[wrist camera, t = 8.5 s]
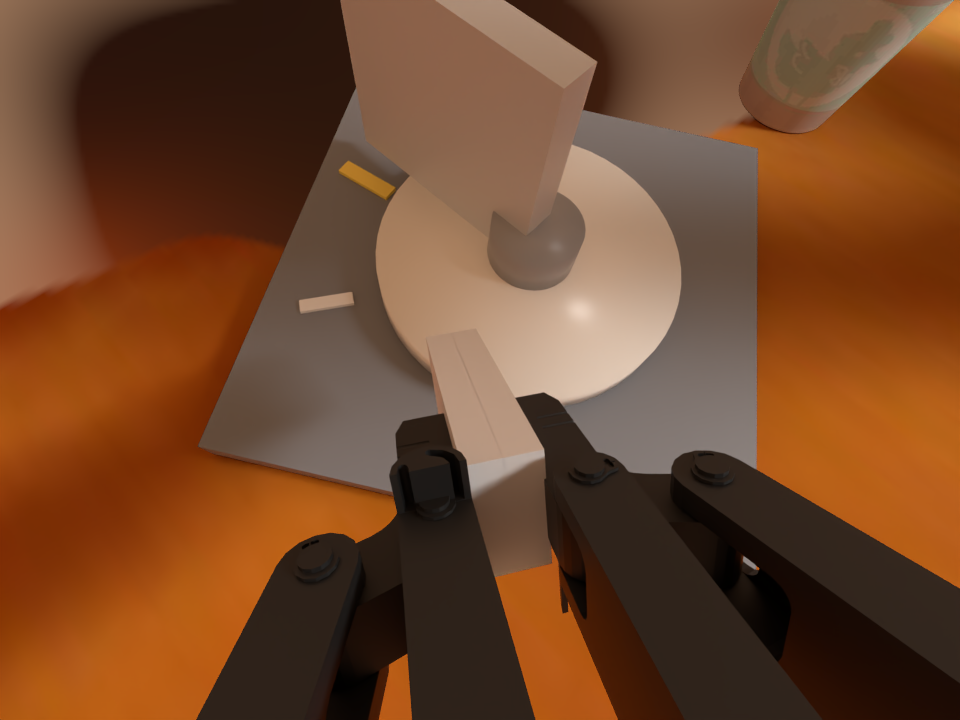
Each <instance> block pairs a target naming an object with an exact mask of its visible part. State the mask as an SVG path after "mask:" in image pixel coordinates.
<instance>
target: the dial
mask: <svg viewBox="0 0 960 720" xmlns="http://www.w3.org/2000/svg"><path fill="white" fill-rule="evenodd" d="M340 1H341V6H342V12H343V17H344V23H345V28H346V34H347V39H348V44H349V50H350V55H351V60H352V66H353V72H354V77H355V83H356V88H357V94H358V99H359V105H360V110H361V116H362V121H363V127H364V132H365V138H366V141H367V142H368V143H370V144H371V145H372V146H373V147H375V148H376V149H377V150H378V151H380V152H381V153H382V154H383V155H385V156H386V157H387V158H388V159H390V160H391V161H392V162H393V163H395V164H396V165H397V166H398V167H400V168H401V169H402V170H403V171H405V172H406V173H407V174H408V175H410V176H409V177H408V178H407V180H406V181H405V182H404V183H403V184H402V185H401V187H400V188H399V189H398V190H397V192H396V193H395V195H394V196H393V198H392V200H391V201H390V203H389V204H388V207H387V209H386V211H385V213H384V216H383V218H382V221H381V224H380V228H379V232H378V235H377V244H376V271H377V276H378V281H379V286H380V290H381V295H382V299H383V303H384V307H385V309H386V312H387V315H388V318H389V320H390V323H391V324H392V326H393V328H394V330H395V332H396V334H397V336H398V337H399V339H400V340H401V342H402V343H403V344H404V346H405V347H406V348H407V350H408V351H409V352H410V354H411V355H412V356H413V357H414V358H415V359H416V360H417V361H418V362H419V363H420V364H421V365H422V366H423V367H424V368H425V369H427V370H428V371H429V372H430V373H432V372H431V366H430V360H429V354H428V348H427V342H426V337H429V336H435V335H441V334H446V333H452V332H458V331H464V330H470V329H475V328H476V330H477V331H478V333H479V335H480V337H481V339H482V340H483V342H484V344H485V346H486V347H487V349H488V351H489V353H490V354H491V356H492V358H493V360H494V362H495V363H496V365H497V367H498V369H499V370H500V372H501V374H502V376H503V377H504V379H505V381H506V383H507V384H508V386H509V388H510V390H511V392H512V393H513V395H514V397H515V398H516V397H522V396H527V395H532V394H537V393H542V392H544V393H546V394H548V395H550V396H552V397H554V398H556V399H557V400H559V401H560V403H561V404H562V405H563V406H567V405H572V404H576V403H580V402H583V401H586V400H588V399H591V398H593V397H596V396H599V395H600V394H602V393H604V392H606V391H608V390H610V389H611V388H613V387H615V386H616V385H618V384H619V383H620V382H622V381H623V380H624V379H626V378H627V377H628V376H630V375H631V374H632V373H633V372H634V371H635V370H636V369H637V368H638V367H639V366H640V365H641V364H642V363H643V362H644V361H645V360H646V359H647V358H648V357H649V355H650V354H651V353H652V352H653V351H654V350H655V349H656V348H657V346H658V345H659V344H660V342H661V341H662V339H663V338H664V337H665V335H666V333H667V331H668V329H669V327H670V325H671V323H672V321H673V319H674V316H675V313H676V310H677V307H678V303H679V297H680V291H681V265H680V258H679V252H678V249H677V245H676V242H675V239H674V236H673V233H672V231H671V229H670V227H669V225H668V223H667V220H666V219H665V217H664V215H663V214H662V212H661V211H660V209H659V207H658V206H657V204H656V203H655V202H654V201H653V199H652V198H651V197H650V196H649V195H648V193H647V192H646V191H645V190H644V189H643V188H642V187H641V186H640V185H639V184H638V183H637V182H636V181H635V180H634V179H633V178H631V177H630V176H629V175H628V174H626V173H625V172H624V171H623V170H621V169H620V168H618V167H617V166H615V165H614V164H612V163H611V162H609V161H607V160H606V159H604V158H602V157H600V156H598V155H596V154H594V153H592V152H590V151H588V150H585V149H583V148H580V147H577V146H575V145H572V143H573V139H574V136H575V133H576V130H577V126H578V123H579V120H580V117H581V113H582V110H583V107H584V104H585V100H586V97H587V94H588V91H589V87H590V84H591V81H592V77H593V75H594V71H595V68H596V64H597V61H595V60H594V59H592V58H591V57H589V56H588V55H586V54H585V53H583V52H582V51H580V50H579V49H577V48H576V47H574V46H572V45H571V44H569V43H568V42H566V41H565V40H563V39H562V38H560V37H559V36H557V35H556V34H554V33H553V32H551V31H550V30H548V29H547V28H545V27H544V26H542V25H540V24H539V23H538V22H536V21H535V20H533V19H532V18H530V17H529V16H527V15H526V14H524V13H522V12H521V11H520V10H518V9H516V8H515V7H513V6H512V5H510V4H508V3H507V2H506V1H504V0H340Z"/></svg>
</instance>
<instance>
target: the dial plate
mask: <svg viewBox="0 0 960 720" xmlns="http://www.w3.org/2000/svg"><path fill="white" fill-rule="evenodd" d="M572 145H575V146H577V147H580V148H583V149H585V150H588V151H590V152H592V153H594V154H596V155H598V156H600V157H602V158H604V159H606V160H607V161H609V162H611V163H612V164H614V165H615V166H617V167H618V168H620V169H621V170H623V171H624V172H625V173H626V174H628V175H629V176H630V177H631V178H633V179H634V180H635V181H636V182H637V183H638V184H639V185H640V186H641V187H642V188H643V189H644V190H645V191H646V192H647V193H648V195H649V196H650V197H651V198H652V199H653V201H654V202H655V203H656V204H657V206H658V207H659V209H660V211H661V212H662V214H663V215H664V217H665V219H666V220H667V223H668V225H669V227H670V229H671V231H672V233H673V236H674V239H675V242H676V245H677V249H678V252H679V258H680V265H681V291H680V297H679V303H678V307H677V310H676V313H675V316H674V319H673V321H672V323H671V325H670V327H669V329H668V331H667V333H666V335H665V337H664V338H663V339H662V341H661V342H660V344H659V345H658V346H657V348H656V349H655V350H654V351H653V352H652V353H651V354H650V355H649V357H648V358H647V359H646V360H645V361H644V362H643V363H642V364H641V365H640V366H639V367H638V368H637V369H636V370H635V371H634V372H633V373H632V374H631V375H630V376H628V377H627V378H626V379H624V380H623V381H622V382H620V383H619V384H618V385H616V386H615V387H613V388H611V389H610V390H608V391H606V392H604V393H602V394H600V395H599V396H596V397H593V398H591V399H588V400H586V401H583V402H580V403H576V404H572V405H567V406H563V407H564V408H565V409H566V411H567V413H568V414H569V415H570V416H571V418H572V419H573V421H574V423H576V424H577V426H578V427H579V429H580V430H581V431H582V433H583V434H584V435H585V437H586V438H587V439H588V441H589V442H590V444H591V445H592V446H593V448H594V449H595V450H596V452H600V453H605V454H607V455H609V456H612V457H614V458H616V459H617V460H618V461H619V462H621V463H622V464H623V465H624V466H625V468H626V469H627V470H628V471H629V472H632V473H643V474H671V467H672V465H673V462H674V460H675V459H676V458H677V457H679V456H680V455H682V454H683V453H687V452H691V451H695V450H710V451H715V452H720V453H725V454H727V455H730V456H732V457H734V458H737V459H739V460H741V461H742V462H744V463H746V464H748V465H749V466H751V467H753V468H754V469H756V449H757V190H758V148H753V147H749V146H744V145H740V144H735V143H730V142H726V141H721V140H717V139H712V138H708V137H703V136H698V135H694V134H689V133H685V132H680V131H676V130H671V129H666V128H662V127H657V126H653V125H648V124H644V123H639V122H634V121H630V120H625V119H621V118H616V117H611V116H607V115H602V114H598V113H593V112H589V111H584V110H582V113H581V117H580V120H579V123H578V126H577V130H576V133H575V136H574V139H573V143H572ZM409 176H410V175H408V174H407V173H406V172H405V171H403V170H402V169H401V168H400V167H398V166H397V165H396V164H395V163H393V162H392V161H391V160H390V159H388V158H387V157H386V156H385V155H383V154H382V153H381V152H380V151H378V150H377V149H376V148H375V147H373V146H372V145H371V144H370V143H368V142H367V141H366V138H365V132H364V127H363V121H362V116H361V110H360V105H359V99H358V94H357V88H356V89H355V91H354V93H353V96H352V98H351V100H350V103H349V105H348V107H347V109H346V111H345V114H344V116H343V118H342V120H341V123H340V125H339V127H338V129H337V132H336V134H335V136H334V139H333V141H332V143H331V145H330V148H329V150H328V152H327V155H326V157H325V159H324V161H323V163H322V166H321V168H320V170H319V173H318V175H317V178H316V179H315V182H314V184H313V186H312V188H311V191H310V193H309V195H308V198H307V200H306V202H305V204H304V207H303V209H302V211H301V213H300V216H299V218H298V220H297V222H296V225H295V227H294V229H293V232H292V234H291V236H290V239H289V241H288V243H287V245H286V247H285V250H284V252H283V254H282V256H281V259H280V261H279V263H278V265H277V268H276V270H275V272H274V274H273V277H272V279H271V281H270V284H269V286H268V288H267V290H266V293H265V295H264V297H263V299H262V302H261V304H260V306H259V308H258V311H257V313H256V315H255V318H254V320H253V322H252V324H251V327H250V329H249V331H248V333H247V336H246V338H245V340H244V342H243V345H242V347H241V349H240V352H239V354H238V356H237V358H236V361H235V363H234V365H233V367H232V370H231V372H230V374H229V376H228V379H227V381H226V383H225V385H224V388H223V390H222V392H221V395H220V397H219V399H218V401H217V404H216V406H215V408H214V410H213V413H212V415H211V417H210V419H209V422H208V424H207V426H206V429H205V431H204V433H203V435H202V438H201V440H200V442H199V444H198V447H200V448H202V449H204V450H206V451H208V452H210V453H213V454H216V455H220V456H225V457H229V458H233V459H238V460H242V461H246V462H250V463H255V464H259V465H263V466H267V467H272V468H276V469H280V470H284V471H289V472H293V473H297V474H302V475H306V476H310V477H314V478H319V479H323V480H327V481H331V482H336V483H340V484H344V485H348V486H353V487H357V488H361V489H366V490H370V491H374V492H378V493H383V494H387V495H391V496H393V491H392V487H391V483H390V478H389V474H390V470H391V467H392V465H393V464H394V463H395V462H396V461H397V451H396V449H397V448H396V438H395V433H396V432H397V430H398V428H399V427H400V425H401V423H402V422H403V421H405V420H411V419H416V418H421V417H426V416H431V415H436V414H438V408H437V402H436V396H435V390H434V384H433V378H432V373H430V372H429V371H428V370H427V369H425V368H424V367H423V366H422V365H421V364H420V363H419V362H418V361H417V360H416V359H415V358H414V357H413V356H412V355H411V354H410V352H409V351H408V350H407V348H406V347H405V346H404V344H403V343H402V342H401V340H400V339H399V337H398V336H397V334H396V332H395V330H394V328H393V326H392V324H391V323H390V320H389V318H388V315H387V312H386V309H385V307H384V303H383V299H382V295H381V290H380V286H379V281H378V276H377V271H376V244H377V235H378V232H379V228H380V224H381V221H382V218H383V216H384V213H385V211H386V209H387V207H388V204H389V203H390V201H391V200H392V198H393V196H394V195H395V193H396V192H397V190H398V189H399V188H400V187H401V185H402V184H403V183H404V182H405V181H406V180H407V178H408V177H409ZM743 562H745V563H746V564H747V565H749V566H750V567H752V568H753V569H755V570H756V565H755V564H754V563H752V562H751V561H750V560H748V559H747V558H746V557H743Z"/></svg>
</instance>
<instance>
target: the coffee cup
mask: <svg viewBox="0 0 960 720" xmlns="http://www.w3.org/2000/svg"><path fill="white" fill-rule="evenodd" d="M953 1H954V0H779V2H778V4H777V6H776V9H775V11H774V13H773V15H772V17H771V19H770V21H769V23H768V25H767V27H766V29H765V31H764V34H763V36H762V38H761V40H760V42H759V44H758V46H757V48H756V50H755V52H754V55H753V57H752V59H751V61H750V63H749V65H748V67H747V69H746V72H745V73H744V76H743V78H742V80H741V82H740V85H739V96H740V99H741V101H742V103H743V105H744V107H745V108H746V110H747V111H748V112H749V113H750V114H751V115H752V116H753V117H754V118H755V119H756V120H758V121H759V122H761V123H762V124H764V125H766V126H768V127H770V128H773V129H775V130H778V131H782V132H787V133H804V132H809V131H812V130H814V129H816V128H818V127H819V126H820V125H821V124H822V123H824V122H825V121H826V120H827V119H828V118H829V117H830V116H831V115H832V114H833V113H834V112H835V111H836V110H838V109H839V108H840V107H841V106H842V105H843V104H844V103H845V102H846V101H847V100H848V99H849V98H850V97H851V96H853V95H854V94H855V93H856V92H857V91H858V90H859V89H860V88H861V87H862V86H863V85H864V84H865V83H866V82H867V81H869V80H870V79H871V78H872V77H873V76H874V75H875V74H876V73H877V72H878V71H879V70H880V69H881V68H882V67H883V66H884V65H886V64H887V63H888V62H889V61H890V60H891V59H892V58H893V57H894V56H895V55H896V54H897V53H898V52H899V51H900V50H902V49H903V48H904V47H905V46H906V45H907V44H908V43H909V42H910V41H911V40H912V39H913V38H914V37H915V36H916V35H917V34H919V33H920V32H921V31H922V30H923V29H924V28H925V27H926V26H927V25H928V24H929V23H930V22H931V21H932V20H933V19H934V18H936V17H937V16H938V15H939V14H940V13H941V12H942V11H943V10H944V9H945V8H946V7H947V6H948V5H949V4H950V3H952V2H953Z"/></svg>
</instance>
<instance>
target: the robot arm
mask: <svg viewBox="0 0 960 720" xmlns="http://www.w3.org/2000/svg"><path fill="white" fill-rule="evenodd" d="M426 342H427V348H428V354H429V360H430V366H431V372H432V378H433V384H434V390H435V396H436V402H437V408H438V414H436V415H431V416H426V417H421V418H416V419H411V420H405V421H403V422H402V423H401V425H400V427H399V428H398V430H397V432H396V433H395V438H396V448H397V449H396V451H397V461H396V462H395V463H394V464H393V465H392V467H391V470H390V474H389V478H390V483H391V487H392V491H393V496H394V500H395V505H396V509H397V515H396V516H395V518H394V519H393V520H392V521H391V522H390V524H388V525H387V526H386V527H385V528H384V529H382V530H381V531H379V532H378V533H376V534H374V535H373V536H371V537H369V538H367V539H365V540H362V541H360V542H358V543H355V541H354V540H353V539H351V538H349V537H348V536H346V535H344V534H336V533H327V534H322V535H317V536H313V537H311V538H309V539H307V540H305V541H302V542H300V543H299V544H297V545H296V546H295V547H293V548H292V549H291V550H289V551H288V552H287V553H286V554H285V555H284V556H283V558H282V559H281V560H280V562H279V563H278V564H277V566H276V568H275V570H274V572H273V574H272V575H271V577H270V579H269V581H268V583H267V585H266V587H265V589H264V591H263V593H262V595H261V597H260V598H259V600H258V602H257V604H256V606H255V608H254V610H253V612H252V614H251V616H250V618H249V620H248V621H247V623H246V625H245V627H244V629H243V631H242V633H241V635H240V637H239V639H238V641H237V643H236V644H235V646H234V648H233V650H232V652H231V654H230V656H229V658H228V660H227V662H226V664H225V666H224V667H223V669H222V671H221V673H220V675H219V677H218V679H217V681H216V683H215V685H214V687H213V689H212V690H211V692H210V694H209V696H208V698H207V700H206V702H205V704H204V706H203V708H202V710H201V712H200V713H199V715H198V717H197V719H196V720H379V715H380V710H381V706H382V701H383V696H384V691H385V687H386V682H387V677H388V673H389V664H391V663H392V662H394V661H396V660H397V659H399V658H401V657H402V656H404V655H406V654H407V653H408V667H409V681H410V695H411V709H412V720H535V717H534V713H533V710H532V706H531V703H530V699H529V696H528V692H527V689H526V685H525V682H524V678H523V675H522V671H521V668H520V664H519V661H518V657H517V654H516V650H515V647H514V643H513V640H512V636H511V633H510V629H509V626H508V622H507V619H506V615H505V612H504V608H503V605H502V601H501V598H500V594H499V591H498V587H497V584H496V580H495V577H497V576H501V575H505V574H509V573H513V572H518V571H522V570H526V569H530V568H534V567H538V566H542V565H547V564H551V563H552V557H551V546H552V548H553V550H554V552H555V555H556V557H557V559H558V562H559V579H560V596H561V606H562V612H563V613H566V612H568V602H569V605H570V607H571V610H572V612H573V614H574V617H575V619H576V621H577V624H578V626H579V628H580V631H581V633H582V635H583V638H584V640H585V642H586V645H587V647H588V650H589V652H590V654H591V657H592V659H593V661H594V664H595V666H596V668H597V671H598V673H599V675H600V678H601V680H602V682H603V685H604V687H605V689H606V692H607V694H608V697H609V699H610V701H611V704H612V706H613V708H614V711H615V713H616V715H617V718H618V720H960V589H959V588H958V587H956V586H954V585H953V584H951V583H949V582H947V581H946V580H944V579H942V578H941V577H939V576H937V575H935V574H934V573H932V572H930V571H929V570H927V569H925V568H924V567H922V566H920V565H918V564H917V563H915V562H913V561H912V560H910V559H908V558H906V557H905V556H903V555H901V554H900V553H898V552H896V551H894V550H893V549H891V548H889V547H888V546H886V545H884V544H883V543H881V542H879V541H877V540H876V539H874V538H872V537H871V536H869V535H867V534H865V533H864V532H862V531H860V530H859V529H857V528H855V527H853V526H852V525H850V524H848V523H847V522H845V521H843V520H842V519H840V518H838V517H836V516H835V515H833V514H831V513H830V512H828V511H826V510H824V509H823V508H821V507H819V506H818V505H816V504H814V503H812V502H811V501H809V500H807V499H806V498H804V497H802V496H800V495H799V494H797V493H795V492H794V491H792V490H790V489H789V488H787V487H785V486H783V485H782V484H780V483H778V482H777V481H775V480H773V479H771V478H770V477H768V476H766V475H765V474H763V473H761V472H759V471H758V470H756V469H754V468H753V467H751V466H749V465H748V464H746V463H744V462H742V461H741V460H739V459H737V458H734V457H732V456H730V455H727V454H725V453H720V452H715V451H710V450H695V451H691V452H687V453H683V454H682V455H680V456H679V457H677V458H676V459H675V460H674V462H673V465H672V467H671V474H643V473H632V472H629V471H628V470H627V469H626V468H625V466H624V465H623V464H622V463H621V462H619V461H618V460H617V459H616V458H614V457H612V456H609V455H607V454H605V453H600V452H596V450H595V449H594V448H593V446H592V445H591V444H590V442H589V441H588V439H587V438H586V437H585V435H584V434H583V433H582V431H581V430H580V429H579V427H578V426H577V424H576V423H574V421H573V419H572V418H571V416H570V415H569V414H568V413H567V411H566V409H565V408H564V407H563V405H562V404H561V403H560V401H559V400H557V399H556V398H554V397H552V396H550V395H548V394H546V393H544V392H542V393H537V394H532V395H527V396H522V397H516V398H515V397H514V395H513V393H512V392H511V390H510V388H509V386H508V384H507V383H506V381H505V379H504V377H503V376H502V374H501V372H500V370H499V369H498V367H497V365H496V363H495V362H494V360H493V358H492V356H491V354H490V353H489V351H488V349H487V347H486V346H485V344H484V342H483V340H482V339H481V337H480V335H479V333H478V331H477V330H476V328H475V329H470V330H464V331H458V332H452V333H446V334H441V335H435V336H429V337H426ZM743 557H746V558H747V559H748V560H750V561H751V562H752V563H754V564H755V565H756V566H757V567H759V568H760V569H759V570H755V569H753V568H752V567H750V566H749V565H747V564H746V563H745V562H743Z"/></svg>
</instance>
